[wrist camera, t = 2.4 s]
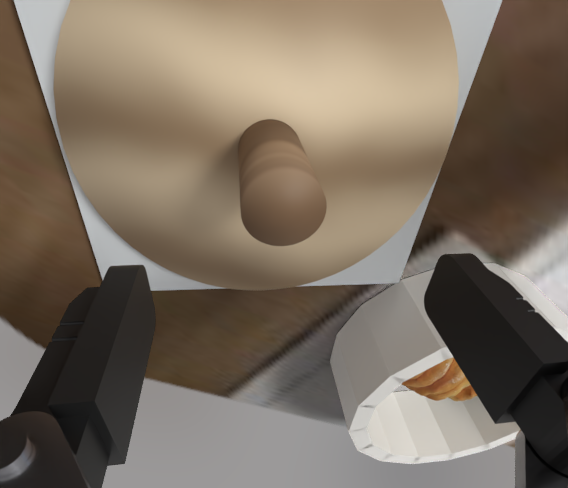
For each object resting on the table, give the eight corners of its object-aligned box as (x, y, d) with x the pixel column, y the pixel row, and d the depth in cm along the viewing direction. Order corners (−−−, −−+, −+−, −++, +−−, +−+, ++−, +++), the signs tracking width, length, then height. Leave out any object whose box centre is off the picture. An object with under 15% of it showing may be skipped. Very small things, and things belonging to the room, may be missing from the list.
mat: (-37, -182, 10) (-47, -188, 9) (531, -100, 12) (539, -102, 12) (108, 287, 20) (106, 291, 20) (396, 279, 23) (398, 283, 22)
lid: (-19, -157, 10) (-261, -300, 5) (518, -85, 12) (707, -133, 7) (113, 285, 20) (76, 380, 15) (393, 277, 22) (438, 356, 17)
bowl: (353, 266, 22) (384, 336, 17) (580, 261, 24) (658, 322, 20) (318, 404, 31) (333, 472, 27) (482, 391, 34) (520, 452, 29)
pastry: (352, 350, 27) (367, 395, 24) (411, 295, 24) (437, 338, 21) (430, 376, 31) (452, 418, 28) (489, 331, 28) (521, 372, 25)
